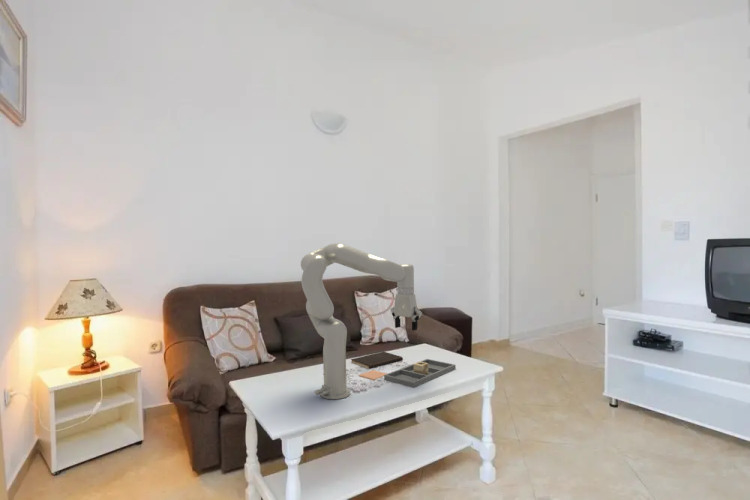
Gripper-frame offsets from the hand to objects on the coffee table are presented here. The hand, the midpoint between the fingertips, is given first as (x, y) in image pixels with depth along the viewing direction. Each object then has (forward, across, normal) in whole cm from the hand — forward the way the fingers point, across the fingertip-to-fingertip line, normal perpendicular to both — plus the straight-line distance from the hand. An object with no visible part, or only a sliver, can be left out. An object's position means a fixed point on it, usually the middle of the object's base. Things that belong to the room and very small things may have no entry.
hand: (406, 328), depth 189 cm
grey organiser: (+24, 0, +11) cm, 26 cm away
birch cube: (+23, 0, +11) cm, 26 cm away
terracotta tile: (+24, -17, -4) cm, 30 cm away
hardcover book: (+25, -32, +15) cm, 43 cm away
